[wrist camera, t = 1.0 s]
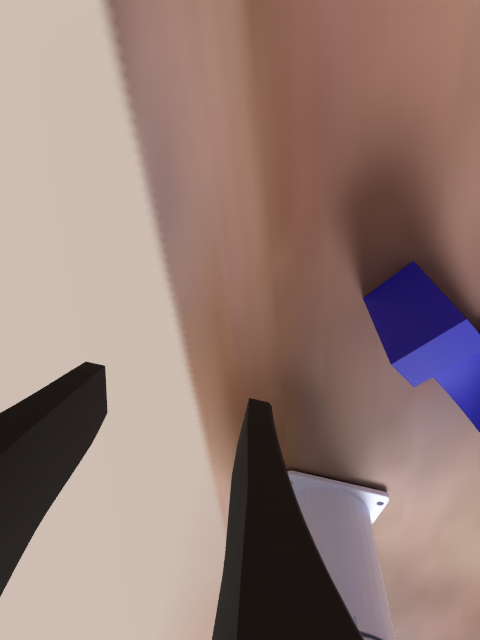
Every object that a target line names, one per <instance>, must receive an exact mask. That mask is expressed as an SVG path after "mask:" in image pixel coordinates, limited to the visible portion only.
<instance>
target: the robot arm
mask: <svg viewBox="0 0 480 640" xmlns="http://www.w3.org/2000/svg"><path fill="white" fill-rule="evenodd" d="M106 414H107V395H106V377H105V366H103V365H99V364H94V363H89V362H85V363H83V364H81V365H80V366H78V367H76V368H75V369H73V370H71V371H70V372H68V373H67V374H65V375H63V376H62V377H60V378H58V379H57V380H55V381H54V382H52V383H50V384H49V385H47V386H46V387H44V388H42V389H41V390H39V391H37V392H36V393H34V394H32V395H31V396H29V397H27V398H26V399H24V400H22V401H21V402H19V403H17V404H16V405H14V406H12V407H10V408H8V409H7V410H5V411H3V412H1V413H0V596H1V594H2V592H3V590H4V588H5V587H6V585H7V583H8V581H9V579H10V577H11V575H12V573H13V571H14V569H15V567H16V566H17V564H18V562H19V560H20V558H21V556H22V554H23V553H24V551H25V549H26V547H27V545H28V543H29V542H30V540H31V538H32V536H33V534H34V532H35V531H36V529H37V527H38V526H39V524H40V522H41V521H42V519H43V517H44V516H45V514H46V512H47V511H48V509H49V508H50V506H51V505H52V503H53V502H54V500H55V499H56V497H57V496H58V494H59V493H60V491H61V490H62V488H63V487H64V485H65V484H66V482H67V481H68V479H69V478H70V476H71V475H72V473H73V472H74V470H75V469H76V467H77V466H78V464H79V463H80V461H81V460H82V458H83V456H84V455H85V453H86V452H87V450H88V449H89V447H90V446H91V444H92V442H93V440H94V438H95V436H96V435H97V433H98V431H99V429H100V427H101V425H102V423H103V420H104V419H105V416H106ZM388 501H389V495H388V493H386V492H384V491H380V490H375V489H371V488H366V487H362V486H358V485H353V484H349V483H344V482H340V481H336V480H331V479H327V478H323V477H318V476H314V475H309V474H305V473H301V472H296V471H287V469H286V466H285V463H284V460H283V456H282V453H281V449H280V446H279V442H278V438H277V434H276V429H275V425H274V419H273V413H272V406H271V405H270V403H268V402H264V401H259V400H255V399H250V398H249V402H248V405H247V409H246V413H245V417H244V421H243V425H242V429H241V433H240V436H239V440H238V445H237V450H236V456H235V461H234V467H233V472H232V481H231V493H230V504H229V516H228V527H227V539H226V551H225V560H224V569H223V576H222V582H221V589H220V594H219V600H218V607H217V613H216V619H215V625H214V631H213V637H212V640H396V638H395V633H394V629H393V624H392V619H391V614H390V609H389V604H388V599H387V595H386V590H385V585H384V580H383V575H382V570H381V566H380V561H379V556H378V551H377V546H376V541H375V536H374V532H373V527H372V524H373V522H374V521H375V520H376V518H377V517H378V515H379V514H380V513H381V511H382V510H383V508H384V507H385V506H386V504H387V503H388Z"/></svg>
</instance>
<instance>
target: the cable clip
mask: <svg viewBox="0 0 480 640" xmlns="http://www.w3.org/2000/svg"><path fill="white" fill-rule="evenodd" d="M363 300H364V302H365V304H366V307H367V309H368V311H369V314H370V316H371V318H372V321H373V323H374V326H375V328H376V330H377V333H378V335H379V337H380V340H381V342H382V344H383V347H384V349H385V351H386V354H387V356H388V358H389V361H390V363H391V365H392V366H393V367H394V368H395V369H396V370H397V371H398V372H399V373H400V374H401V375H402V376H403V377H404V378H405V379H406V380H407V381H408V382H409V383H410V384H411V385H412V386H413V387H415V386H417V385H419V384H421V383H423V382H424V381H426V380H428V379H430V378H432V377H433V378H434V379H435V380H436V381H437V382H438V383H439V384H440V385H441V386H442V387H443V388H444V390H445V391H446V392H447V393H448V394H449V395H450V396H451V397H452V399H453V400H454V401H455V402H456V403H457V405H458V406H459V407H460V408H461V409H462V411H463V412H464V413H465V414H466V415H467V417H468V418H469V419H470V421H471V422H472V423H473V424H474V426H475V427H476V428H477V429H478V431H479V432H480V334H479V333H478V331H477V330H476V329H475V328H474V327H473V326H472V324H471V323H470V322H469V321H468V320H467V319H466V317H465V316H464V315H463V314H462V313H461V312H460V311H459V310H458V309H457V308H456V307H455V306H454V304H453V303H452V302H451V301H450V300H449V299H448V298H447V297H446V296H445V295H444V294H443V293H442V291H441V290H440V289H439V288H438V287H437V286H436V285H435V284H434V283H433V282H432V281H431V279H430V278H429V277H428V276H427V275H426V274H425V273H424V272H423V271H422V270H421V269H420V268H419V266H418V265H417V264H416V263H415V262H414V261H413V262H412V263H410V264H409V265H407V266H406V267H405V268H403V269H402V270H401V271H399V272H398V273H397V274H395V275H394V276H392V277H391V278H390V279H388V280H387V281H386V282H384V283H383V284H382V285H380V286H379V287H377V288H376V289H375V290H373V291H372V292H371V293H369V294H368V295H367V296H365V297H364V298H363Z"/></svg>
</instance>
